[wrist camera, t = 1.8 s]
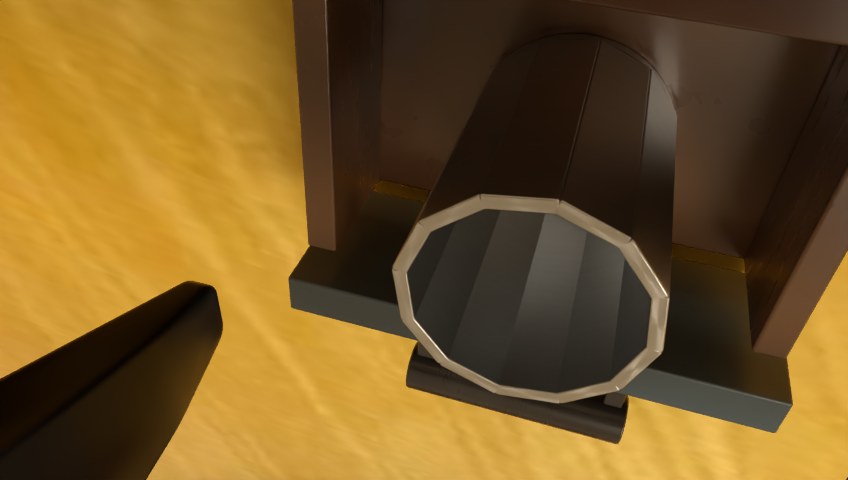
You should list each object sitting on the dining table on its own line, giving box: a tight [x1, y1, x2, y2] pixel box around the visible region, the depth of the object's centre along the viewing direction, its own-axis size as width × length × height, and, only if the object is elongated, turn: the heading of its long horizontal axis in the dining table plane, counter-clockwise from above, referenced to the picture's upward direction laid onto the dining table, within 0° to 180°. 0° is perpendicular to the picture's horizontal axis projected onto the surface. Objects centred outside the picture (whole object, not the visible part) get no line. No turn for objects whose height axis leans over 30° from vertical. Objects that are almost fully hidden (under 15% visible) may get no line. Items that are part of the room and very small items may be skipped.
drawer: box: [289, 0, 848, 444], centre depth 18 cm, size 17×13×5 cm
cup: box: [392, 34, 677, 403], centre depth 16 cm, size 5×5×7 cm
